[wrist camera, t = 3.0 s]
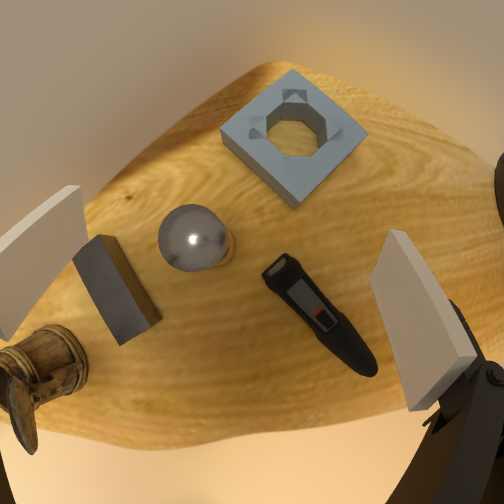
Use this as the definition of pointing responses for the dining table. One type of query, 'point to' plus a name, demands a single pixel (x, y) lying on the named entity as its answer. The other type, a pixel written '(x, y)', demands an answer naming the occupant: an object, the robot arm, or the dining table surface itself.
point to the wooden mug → (39, 377)
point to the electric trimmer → (319, 314)
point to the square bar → (115, 288)
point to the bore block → (292, 108)
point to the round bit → (195, 239)
